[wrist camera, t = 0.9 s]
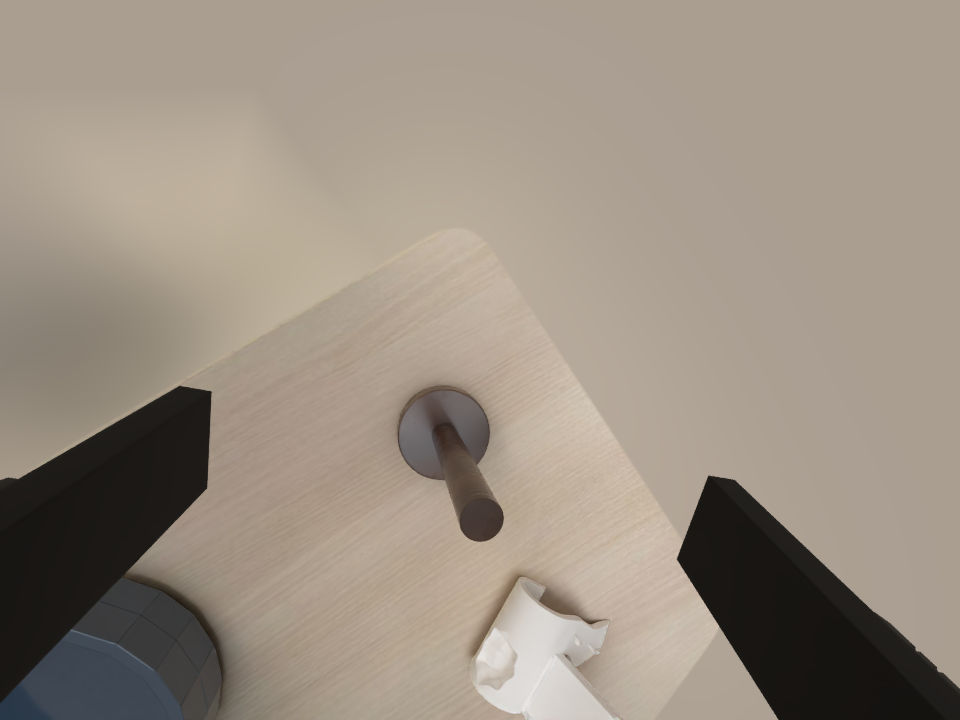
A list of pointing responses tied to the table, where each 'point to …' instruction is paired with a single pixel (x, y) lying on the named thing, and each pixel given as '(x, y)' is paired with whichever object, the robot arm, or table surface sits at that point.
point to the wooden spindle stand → (452, 454)
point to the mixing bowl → (124, 665)
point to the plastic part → (539, 660)
